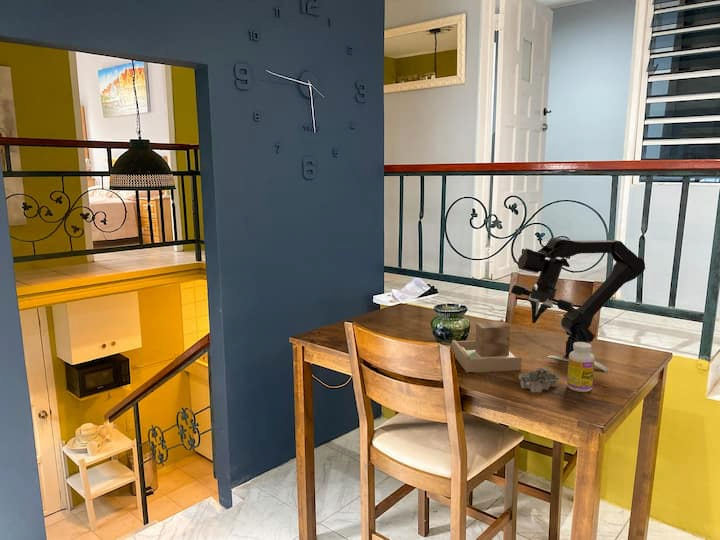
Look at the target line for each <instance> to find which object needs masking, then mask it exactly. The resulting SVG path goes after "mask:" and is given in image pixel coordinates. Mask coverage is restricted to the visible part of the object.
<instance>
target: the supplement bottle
mask: <svg viewBox="0 0 720 540" xmlns="http://www.w3.org/2000/svg"><path fill="white" fill-rule="evenodd" d="M592 346H593V345H592V344H591V343H590V344H589V343H585V342H575V343H574V344H573V349H574V351H572V352H571V353H570V354H569V357H568V360H569V362H568V364H567V365H568V366H567V380H566V382H567V383H566V386H567V387H568V388H569V389H570V390H571V391H575V392H579V393H588V392H591V391H592V390H593V385H594V372H595V371H594V370H595V369H594V368H595V365H594V361H595V355H594V354H593V353H592V352H591V351H592Z"/></svg>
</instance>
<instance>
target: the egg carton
mask: <svg viewBox="0 0 720 540" xmlns="http://www.w3.org/2000/svg"><path fill="white" fill-rule="evenodd" d="M560 378H561V377H560V375H559V376H557V375H556V374H555V373H553V372H551V371H549V370H546V369H545V368H543V367H539V368H538V369H536V370H531V371H529V372H526V373H520V374H519V375H518V377H517V379H518V380H520V382H519V383H520V388H521V389H528V390H530V392H531V393H542V391H543V390H547V391H548V390H549V389H550V387H554V388H556V387H558V381H560Z"/></svg>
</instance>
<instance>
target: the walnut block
mask: <svg viewBox="0 0 720 540" xmlns="http://www.w3.org/2000/svg"><path fill="white" fill-rule="evenodd" d="M510 334H511V326H510V325H508V324H507V323H506V322H505V323H504V322H500V321H492V322H489V321H487V322H476V323H475V340H476V352H477V353H478V354H479V355H480V356H481V357H494V356H509V351H510V337H511V335H510Z"/></svg>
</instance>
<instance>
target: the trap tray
mask: <svg viewBox="0 0 720 540" xmlns="http://www.w3.org/2000/svg"><path fill="white" fill-rule="evenodd" d="M452 346H453V349H454V353H455V357H454V358H455V359H456V361H457V362H458V363H459V364H460V366H461V367H462V368H463V370H464V371H465V372H466V373H467V374H469V373H468V372H475V373H489V372H490V373H492V371H493V372H509V371H512V372H513V371H521V370H522V356H515V355H514V354H513V353H512V352H511V351H510V350H509V356H494V357H481V356H480V355H479V354H478V353H477V352H476V339H475V340H459V341H458V340H456V339H452V341H451V347H452Z"/></svg>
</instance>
